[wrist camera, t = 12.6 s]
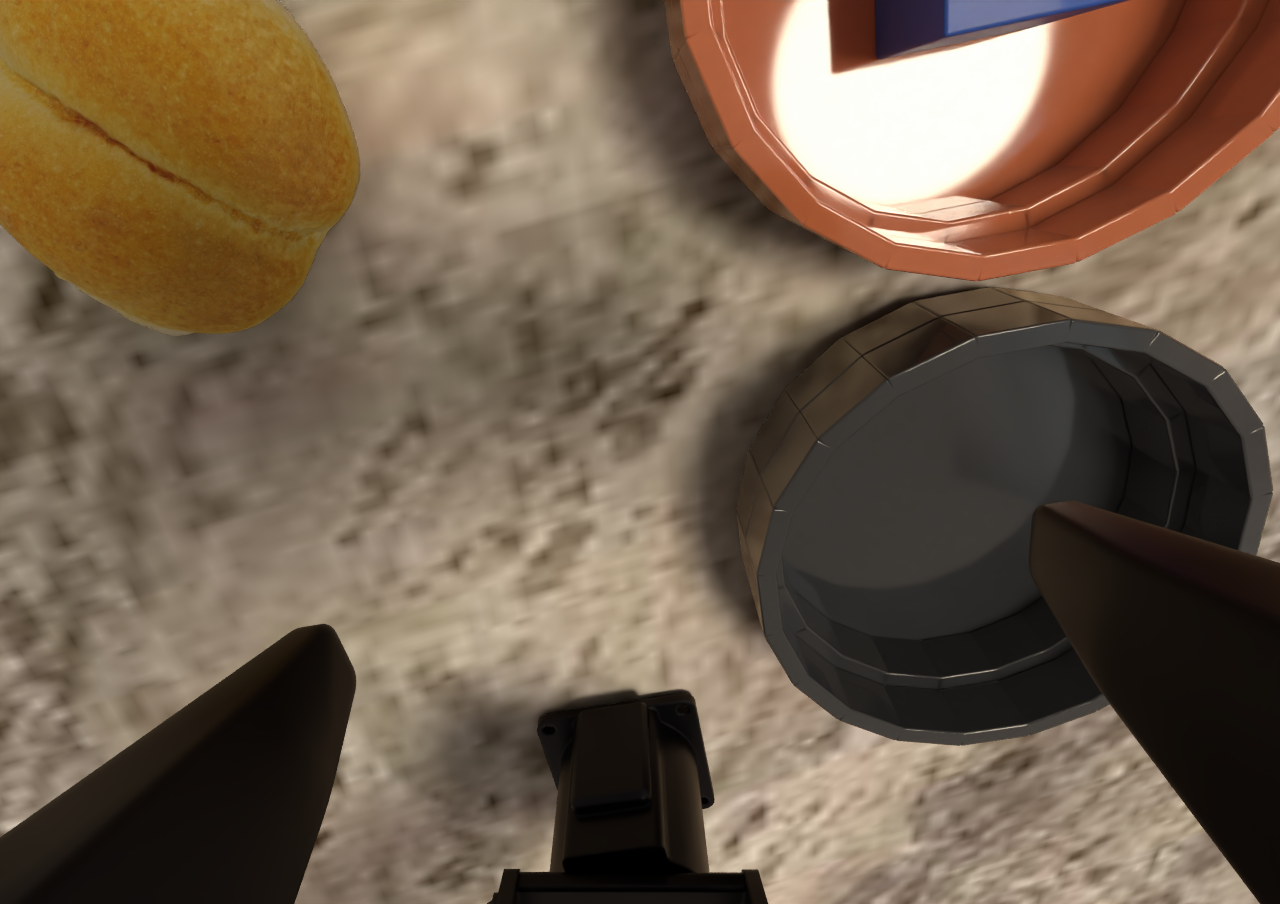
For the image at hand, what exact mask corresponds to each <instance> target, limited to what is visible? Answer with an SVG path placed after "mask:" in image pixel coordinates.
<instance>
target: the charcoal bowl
mask: <svg viewBox="0 0 1280 904" xmlns="http://www.w3.org/2000/svg"><path fill="white" fill-rule="evenodd" d="M785 389H786V390H784V391H783V393H782V395H781V396H780V398H779V400H778V401H777V403H776V404H775V406H774V408H773V409H772V411H771V413H770V414H769V416H768V418H767V419H766V421H765V423H764V424H763V426H762V428H761V429H760V431H759V433H758V434H757V436H756V438H755V439H754V441H753V443H752V444H751V446H750V449H749V451H748V455H747V460H746V464H745V469H744V473H743V478H742V482H741V487H740V491H739V496H738V500H737V505H736V508H737V509H736V515H737V522H738V529H739V536H740V543H741V551H742V558H743V563H744V566H745V570H746V574H747V577H748V581H749V584H750V588H751V591H752V594H753V599H754V602H755V606H756V609H757V613H758V616H759V620H760V623H761V627H762V630H763V634H764V637H765V638H766V640H767V642H768V644H769V645H770V647H771V649H772V650H773V652H774V654H775V655H776V657H777V659H778V660H779V662H780V664H781V666H782V667H783V669H784V671H785V672H786V674H787V676H788V677H789V679H790V681H791V682H792V683H793V684H794V686H795V687H796V688H798V689H799V690H800V691H802V692H803V693H804V694H805V695H807V696H808V697H809V698H811V699H812V700H813V701H814V702H816V703H817V704H818V705H820V706H821V707H822V708H823V709H825V710H826V711H827V712H829V713H830V714H831V715H832V716H834V717H835V718H836V719H838V720H840V721H842V722H845V723H848V724H850V725H853V726H856V727H859V728H862V729H865V730H867V731H870V732H873V733H876V734H879V735H881V736H884V737H887V738H890V739H893V740H897V741H907V742H919V743H932V744H944V745H957V746H959V745H969V744H976V743H983V742H990V741H997V740H1004V739H1011V738H1018V737H1025V736H1028V735H1033V734H1036V733H1039V732H1041V731H1044V730H1047V729H1050V728H1052V727H1055V726H1058V725H1061V724H1064V723H1066V722H1069V721H1072V720H1075V719H1077V718H1080V717H1083V716H1086V715H1088V714H1091V713H1094V712H1096V711H1097V710H1101V709H1102V708H1104V707H1106V706H1107V705H1109V704H1110V703H1109V702H1108V701H1107V699H1106V698H1105V696H1104V695H1103V694H1102V692H1101V691H1100V689H1099V688H1098V687H1097V685H1096V683H1095V682H1094V680H1093V679H1092V677H1091V676H1090V674H1089V673H1088V671H1087V669H1086V668H1085V666H1084V664H1083V663H1082V661H1081V659H1080V658H1079V656H1078V654H1077V653H1076V651H1075V649H1074V648H1073V646H1072V644H1071V643H1070V641H1069V639H1068V638H1067V636H1066V634H1065V633H1064V631H1063V629H1062V628H1061V626H1060V624H1059V623H1058V621H1057V619H1056V618H1055V616H1054V614H1053V613H1052V611H1051V609H1050V608H1049V606H1048V604H1047V603H1046V601H1045V599H1044V598H1043V596H1042V594H1041V593H1040V591H1039V589H1038V588H1037V586H1036V584H1035V583H1034V581H1033V579H1032V576H1031V574H1030V570H1029V564H1028V558H1029V546H1030V534H1031V523H1032V516H1033V513H1034V511H1035V509H1036V508H1037V507H1039V506H1040V505H1045V504H1051V503H1057V502H1063V501H1077V502H1080V503H1084V504H1087V505H1090V506H1094V507H1097V508H1100V509H1103V510H1107V511H1110V512H1113V513H1117V514H1120V515H1123V516H1126V517H1130V518H1133V519H1136V520H1140V521H1143V522H1146V523H1150V524H1153V525H1156V526H1159V527H1163V528H1166V529H1169V530H1173V531H1176V532H1179V533H1182V534H1186V535H1189V536H1192V537H1196V538H1199V539H1202V540H1205V541H1209V542H1212V543H1215V544H1219V545H1222V546H1225V547H1228V548H1232V549H1235V550H1238V551H1242V552H1245V553H1248V554H1251V555H1255V556H1256V555H1257V552H1258V548H1259V544H1260V540H1261V537H1262V533H1263V529H1264V525H1265V521H1266V518H1267V514H1268V510H1269V506H1270V503H1271V499H1272V495H1273V493H1272V491H1273V486H1272V478H1271V471H1270V463H1269V456H1268V449H1267V441H1266V434H1265V427H1264V426H1263V423H1262V421H1261V420H1260V418H1259V417H1258V415H1257V414H1256V413H1255V411H1254V410H1253V408H1252V407H1251V405H1250V404H1249V402H1248V401H1247V399H1246V398H1245V396H1244V395H1243V394H1242V392H1241V391H1240V389H1239V388H1238V386H1237V385H1236V383H1235V382H1234V380H1233V379H1232V378H1231V376H1230V375H1229V373H1228V372H1227V370H1226V369H1224V368H1223V366H1221V365H1220V364H1218V363H1216V362H1214V361H1212V360H1211V359H1209V358H1207V357H1205V356H1204V355H1202V354H1200V353H1198V352H1196V351H1195V350H1193V349H1191V348H1189V347H1188V346H1186V345H1184V344H1182V343H1181V342H1179V341H1177V340H1175V339H1173V338H1172V337H1170V336H1168V335H1166V334H1165V333H1163V332H1161V331H1159V330H1156V329H1153V328H1150V327H1148V326H1145V325H1142V324H1139V323H1136V322H1133V321H1131V320H1128V319H1125V318H1122V317H1119V316H1116V315H1113V314H1111V313H1107V312H1105V311H1102V310H1099V309H1096V308H1093V307H1091V306H1088V305H1085V304H1082V303H1079V302H1076V301H1074V300H1071V299H1068V298H1065V297H1062V296H1056V295H1048V294H1041V293H1033V292H1026V291H1019V290H1011V289H1004V288H996V287H992V288H988V287H987V288H982V289H977V290H971V291H966V292H960V293H955V294H950V295H944V296H939V297H933V298H928V299H923V300H917V301H915V302H914V303H913V302H912V303H909V304H907V305H905V306H903V307H901V308H899V309H897V310H895V311H893V312H891V313H889V314H887V315H885V316H883V317H881V318H879V319H877V320H875V321H873V322H871V323H869V324H867V325H865V326H863V327H861V328H859V329H857V330H855V331H853V332H851V333H849V334H847V335H845V336H844V337H843V338H840V339H838V340H837V341H836V342H835V343H834V344H833V345H832V346H831V347H830V348H829V349H827V350H826V351H825V352H824V353H823V354H822V355H821V356H820V357H819V358H818V359H817V360H815V361H814V362H813V363H812V364H811V365H810V366H809V367H808V368H807V369H806V370H805V371H803V372H802V373H801V374H800V375H799V376H798V377H797V378H796V379H795V380H794V381H793V382H791V383H790V384H789V385H788V386H787V387H786V388H785Z"/></svg>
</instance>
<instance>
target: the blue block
mask: <svg viewBox="0 0 1280 904" xmlns="http://www.w3.org/2000/svg"><path fill="white" fill-rule="evenodd" d="M1125 1H1129V0H875V30H876V57H877V59H879V60H881V59H885V58H890V57H895V56H900V55H904V54H909V53H914V52H919V51H923V50H928V49H933V48H938V47H943V46H947V45H952V44H957V43H962V42H966V41H971V40H976V39H981V38H985V37H990V36H995V35H1000V34H1005V33H1009V32H1014V31H1019V30H1024V29H1028V28H1033V27H1037V26H1040V25H1044V24H1047V23H1051V22H1055V21H1058V20H1062V19H1065V18H1069V17H1072V16H1076V15H1079V14H1083V13H1086V12H1090V11H1093V10H1097V9H1100V8H1104V7H1108V6H1111V5H1115V4H1118V3H1122V2H1125Z"/></svg>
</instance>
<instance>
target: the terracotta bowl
mask: <svg viewBox="0 0 1280 904" xmlns="http://www.w3.org/2000/svg"><path fill="white" fill-rule="evenodd" d="M664 4H665V11H666V18H667V25H668V33H669V40H670V47H671V54H672V59H673V60H675V61H674V65H675V67H676V69H677V72H678V74H679V76H680V78H681V81H682V83H683V85H684V87H685V90H686V92H687V94H688V96H689V98H690V101H691V103H692V105H693V107H694V110H695V112H696V114H697V116H698V119H699V121H700V123H701V125H702V127H703V130H704V132H705V134H706V136H707V139H708V141H709V143H710V144H711V145H712V146H713V147H712V148H713V150H714V151H715V152H716V153H717V154H718V155H719V156H720V157H721V159H722V160H723V161H724V162H725V163H726V164H727V165H728V166H729V167H730V168H731V170H732V171H733V172H734V173H735V174H736V175H737V176H738V177H739V178H740V179H741V181H742V182H743V183H744V184H745V185H746V186H747V187H748V188H749V189H750V190H751V192H752V193H753V194H754V195H755V196H756V197H757V198H758V199H759V200H760V201H761V203H762V204H763V205H764V206H765V207H766V208H768V209H769V210H770V211H772V212H774V213H776V214H777V215H779V216H781V217H783V218H785V219H787V220H789V221H791V222H793V223H794V224H796V225H798V226H800V227H802V228H804V229H806V230H808V231H810V232H811V233H813V234H815V235H817V236H819V237H821V238H823V239H825V240H827V241H828V242H830V243H832V244H834V245H836V246H838V247H840V248H842V249H844V250H847V251H849V252H851V253H853V254H855V255H857V256H859V257H861V258H863V259H865V260H867V261H869V262H871V263H873V264H875V265H877V266H879V267H881V268H885V269H889V270H896V271H903V272H911V273H918V274H926V275H933V276H940V277H948V278H955V279H962V280H970V281H977V280H978V281H982V280H987V279H992V278H998V277H1003V276H1009V275H1014V274H1019V273H1025V272H1030V271H1035V270H1041V269H1046V268H1052V267H1057V266H1062V265H1068V264H1073V263H1075V262H1078V261H1081V260H1083V259H1085V258H1087V257H1089V256H1091V255H1093V254H1095V253H1097V252H1099V251H1101V250H1103V249H1105V248H1107V247H1109V246H1111V245H1113V244H1115V243H1117V242H1119V241H1121V240H1123V239H1125V238H1128V237H1130V236H1132V235H1134V234H1136V233H1138V232H1140V231H1142V230H1144V229H1146V228H1148V227H1150V226H1152V225H1154V224H1156V223H1158V222H1160V221H1162V220H1164V219H1166V218H1168V217H1170V216H1172V215H1174V214H1175V213H1176V212H1178V211H1180V210H1182V209H1183V208H1184V207H1185V206H1186V205H1188V204H1189V203H1190V202H1191V201H1192V200H1194V199H1195V198H1196V197H1197V196H1199V195H1200V194H1201V193H1202V192H1203V191H1205V190H1206V189H1207V188H1208V187H1209V186H1211V185H1212V184H1213V183H1214V182H1215V181H1217V180H1218V179H1219V178H1220V177H1222V176H1223V175H1224V174H1225V173H1226V172H1228V171H1229V170H1230V169H1231V168H1232V167H1234V166H1235V165H1236V164H1237V163H1238V162H1240V161H1241V160H1242V159H1243V158H1245V157H1246V156H1247V155H1248V154H1249V153H1251V152H1252V151H1253V150H1254V149H1255V148H1257V147H1258V146H1259V145H1260V144H1262V143H1263V142H1264V141H1265V140H1266V139H1268V138H1269V137H1270V136H1271V135H1272V134H1273V132H1274V131H1276V130H1277V129H1278V128H1279V127H1280V0H1129V1H1125V2H1122V3H1118V4H1115V5H1111V6H1108V7H1104V8H1100V9H1097V10H1093V11H1090V12H1086V13H1083V14H1079V15H1076V16H1072V17H1069V18H1065V19H1062V20H1058V21H1055V22H1051V23H1047V24H1044V25H1040V26H1037V27H1033V28H1028V29H1024V30H1019V31H1014V32H1009V33H1005V34H1000V35H995V36H990V37H985V38H981V39H976V40H971V41H966V42H962V43H957V44H952V45H947V46H943V47H938V48H933V49H928V50H923V51H919V52H914V53H909V54H904V55H900V56H895V57H890V58H885V59H881V60H879V59H877V57H876V30H875V0H664Z"/></svg>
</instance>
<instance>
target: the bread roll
mask: <svg viewBox="0 0 1280 904" xmlns="http://www.w3.org/2000/svg"><path fill="white" fill-rule="evenodd" d="M359 178H360V161H359V153H358V148H357V144H356V140H355V136H354V132H353V130H352V127H351V124H350V121H349V118H348V115H347V113H346V110H345V107H344V105H343V103H342V100H341V98H340V95H339V93H338V90H337V88H336V86H335V84H334V81H333V79H332V77H331V75H330V73H329V71H328V69H327V68H326V66H325V64H324V63H323V61H322V59H321V58H320V56H319V54H318V52H317V51H316V49H315V47H314V46H313V44H312V42H311V41H310V39H309V37H308V36H307V35H306V33H305V32H304V31H303V30H302V28H301V27H300V26H299V24H298V23H297V22H296V20H295V19H294V18H293V16H292V15H291V14H290V13H289V12H288V10H287V9H286V8H285V7H284V6H283V5H282V4H281V3H280V2H279V1H277V0H0V224H1V225H2V226H3V227H4V228H5V229H6V230H7V231H8V232H9V233H10V234H11V235H12V236H13V237H14V238H15V239H16V240H17V241H18V242H19V243H20V244H21V245H22V246H23V247H24V248H25V249H26V250H27V251H28V252H29V253H30V254H32V255H33V256H34V257H35V258H36V259H38V260H39V261H41V262H42V263H43V264H45V265H46V266H47V267H49V268H50V269H51V270H53V271H54V273H55V274H56V276H57V277H58V278H60V279H63V280H65V281H68V282H70V283H72V284H73V285H75V286H76V287H77V288H78V289H79V290H80V291H82V292H84V293H86V294H88V295H89V296H91V297H92V298H93V299H95V300H96V301H98V302H100V303H102V304H104V305H106V306H108V307H110V308H111V309H113V310H115V311H116V312H118V313H120V314H121V315H122V316H124V317H125V318H127V319H129V320H131V321H133V322H135V323H137V324H139V325H143V326H145V327H147V328H149V329H153V330H156V331H158V332H161V333H164V334H167V335H173V336H181V335H188V334H191V333H208V334H222V333H231V332H237V331H241V330H246V329H248V328H251V327H254V326H256V325H258V324H260V323H261V322H263V321H265V320H266V319H268V318H269V317H270V316H272V315H273V314H274V313H276V312H277V311H279V310H280V309H281V308H282V307H284V306H285V305H286V304H287V303H288V302H289V301H291V300H292V298H293V297H294V296H295V295H296V293H297V292H298V291H299V289H300V288H301V287H302V285H303V283H304V281H305V279H306V277H307V275H308V272H309V270H310V268H311V266H312V264H313V261H314V258H315V255H316V252H317V250H318V248H319V246H320V245H321V243H322V241H323V240H324V238H325V236H326V234H327V233H328V231H329V229H331V228H332V227H333V226H334V225H335V224H336V223H337V222H338V221H339V220H340V219H341V217H342V216H343V215H344V213H345V212H346V211H347V209H348V208H349V206H350V204H351V202H352V200H353V197H354V195H355V192H356V189H357V185H358V182H359Z"/></svg>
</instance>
